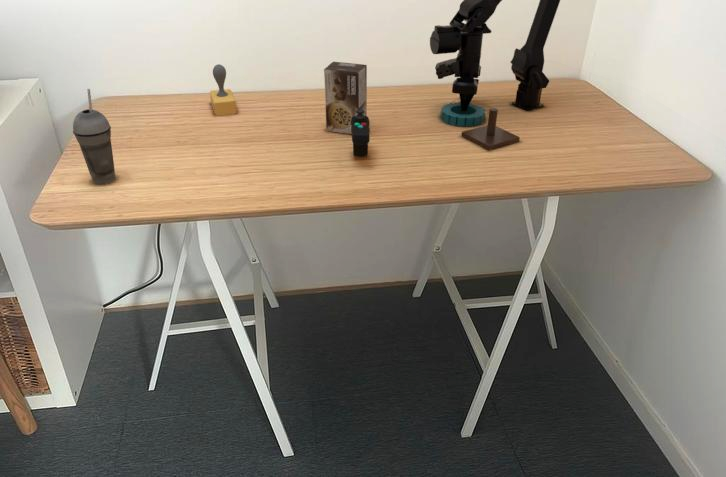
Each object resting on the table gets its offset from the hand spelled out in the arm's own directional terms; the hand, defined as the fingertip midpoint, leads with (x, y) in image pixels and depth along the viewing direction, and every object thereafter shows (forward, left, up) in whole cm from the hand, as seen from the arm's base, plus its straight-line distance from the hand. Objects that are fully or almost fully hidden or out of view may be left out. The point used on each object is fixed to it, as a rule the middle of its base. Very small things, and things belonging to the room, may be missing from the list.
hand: (464, 109), depth 167 cm
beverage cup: (+92, -10, -1) cm, 93 cm away
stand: (+6, +17, -1) cm, 18 cm away
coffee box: (+33, -7, -1) cm, 34 cm away
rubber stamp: (+54, -37, -1) cm, 65 cm away
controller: (+39, +9, -1) cm, 40 cm away
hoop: (+3, +3, -1) cm, 5 cm away
